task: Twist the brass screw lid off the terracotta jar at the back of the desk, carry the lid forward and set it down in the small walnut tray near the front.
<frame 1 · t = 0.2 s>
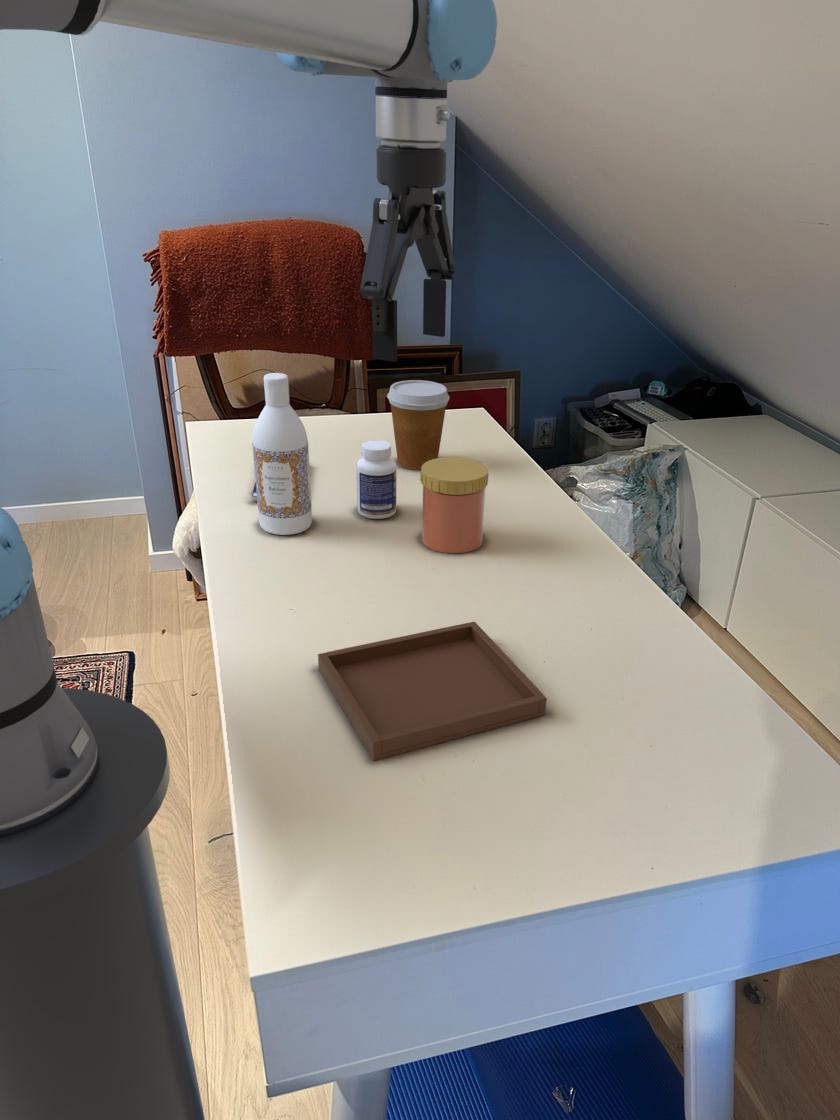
hand: (410, 347, 107), 24 cm above the table, tool pointing down, fingers open, 13 cm apart
tray: (429, 692, 88), on the table
lid: (454, 471, 113), point 10 cm above the table, screwed on, not yet turned
disposable coffee cup: (417, 464, 142), on the table
pill bottle: (377, 513, 125), on the table
jar: (452, 540, 118), on the table
smartphone: (280, 483, 132), on the table
bath foam: (286, 526, 120), on the table
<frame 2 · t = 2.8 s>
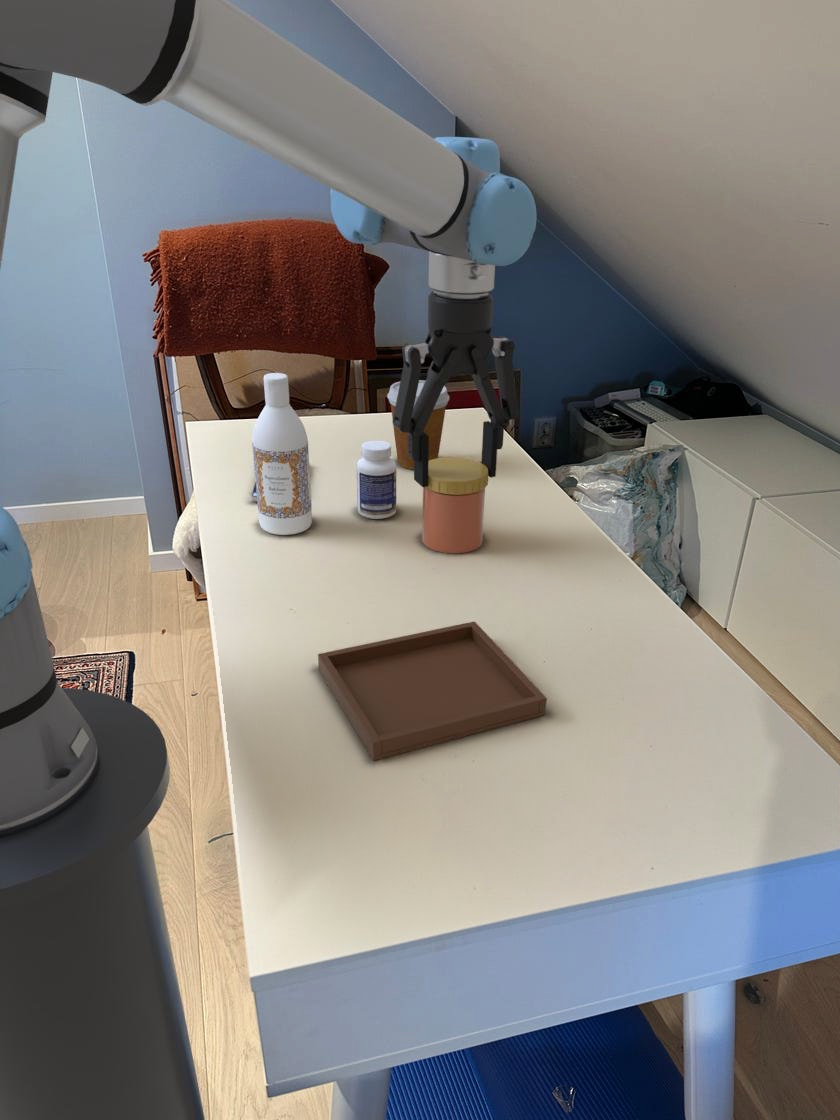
hand: (455, 478, 114), 9 cm above the table, tool pointing down
lid: (454, 471, 113), point 10 cm above the table, screwed on, not yet turned, touching gripper
everything else where it was.
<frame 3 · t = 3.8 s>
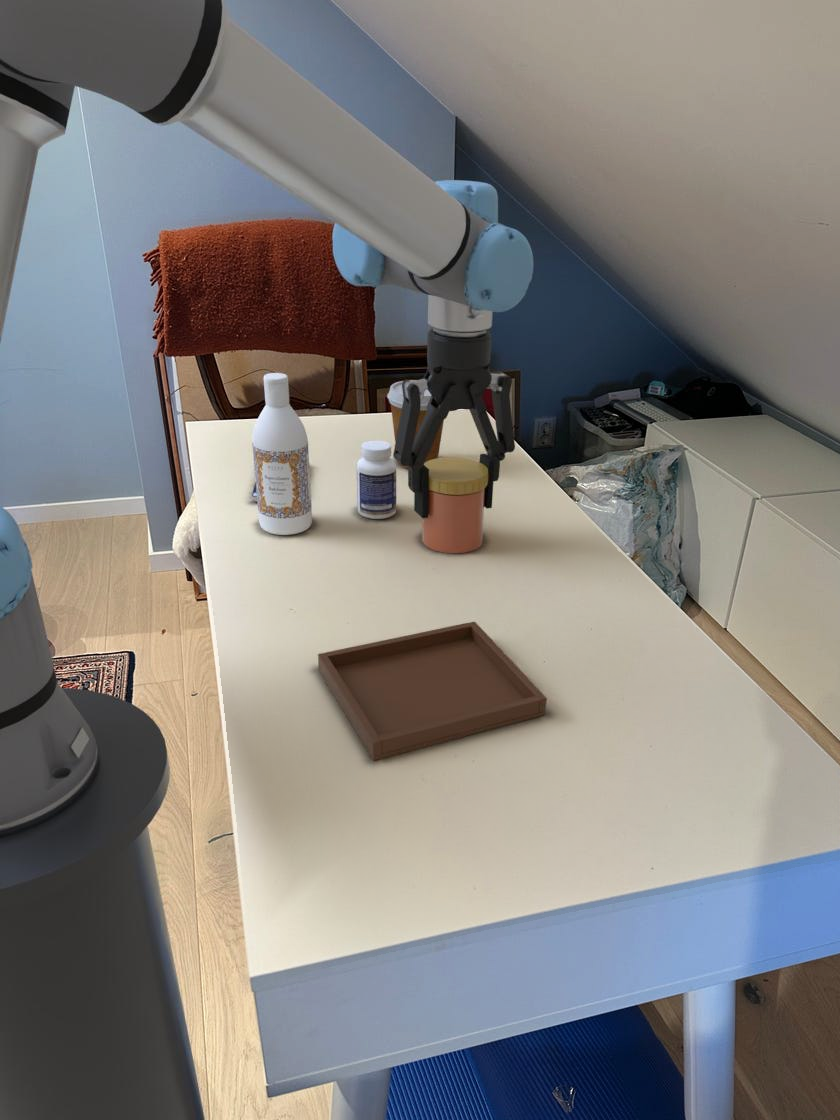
hand: (453, 509, 116), 4 cm above the table, tool pointing down, fingers closed on lid, 8 cm apart
lid: (454, 471, 113), point 10 cm above the table, screwed on, not yet turned, touching gripper
everything else where it was.
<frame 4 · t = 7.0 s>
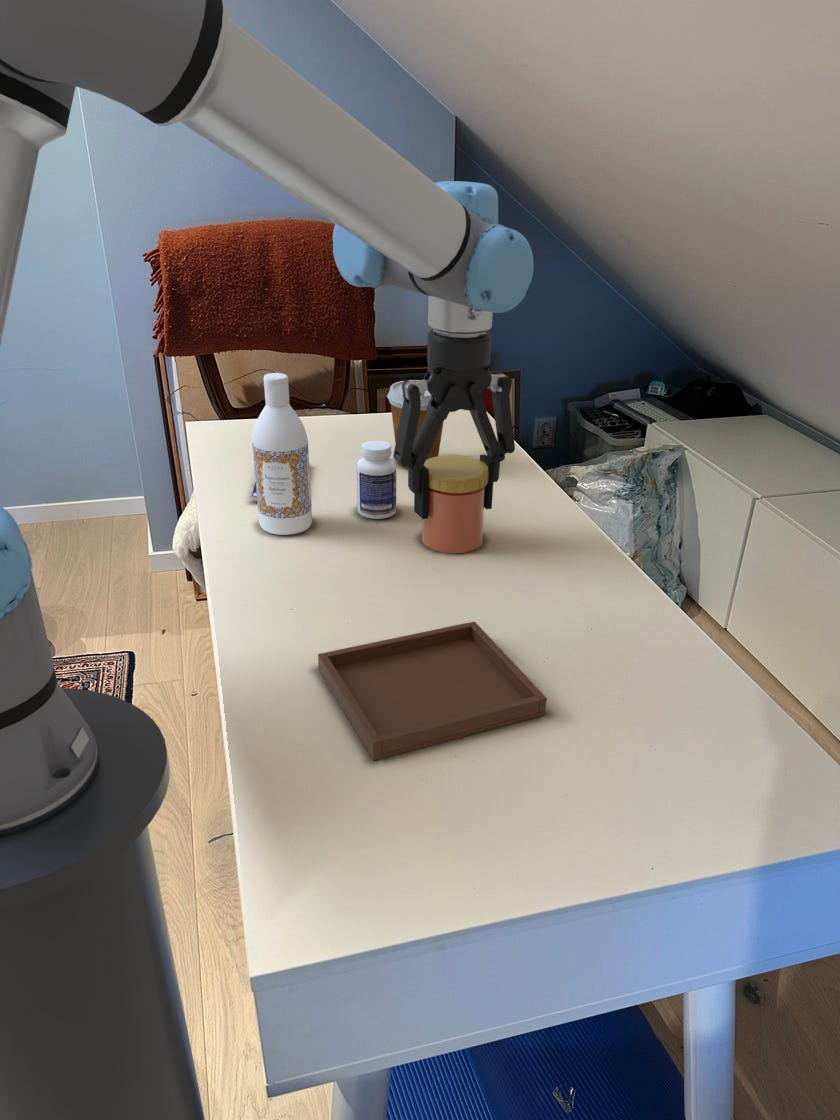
hand: (453, 509, 116), 4 cm above the table, tool pointing down, fingers closed on lid, 8 cm apart
lid: (454, 469, 113), point 10 cm above the table, turned 90° so far, risen 0.2 cm, still on its thread, touching gripper
everything else where it was.
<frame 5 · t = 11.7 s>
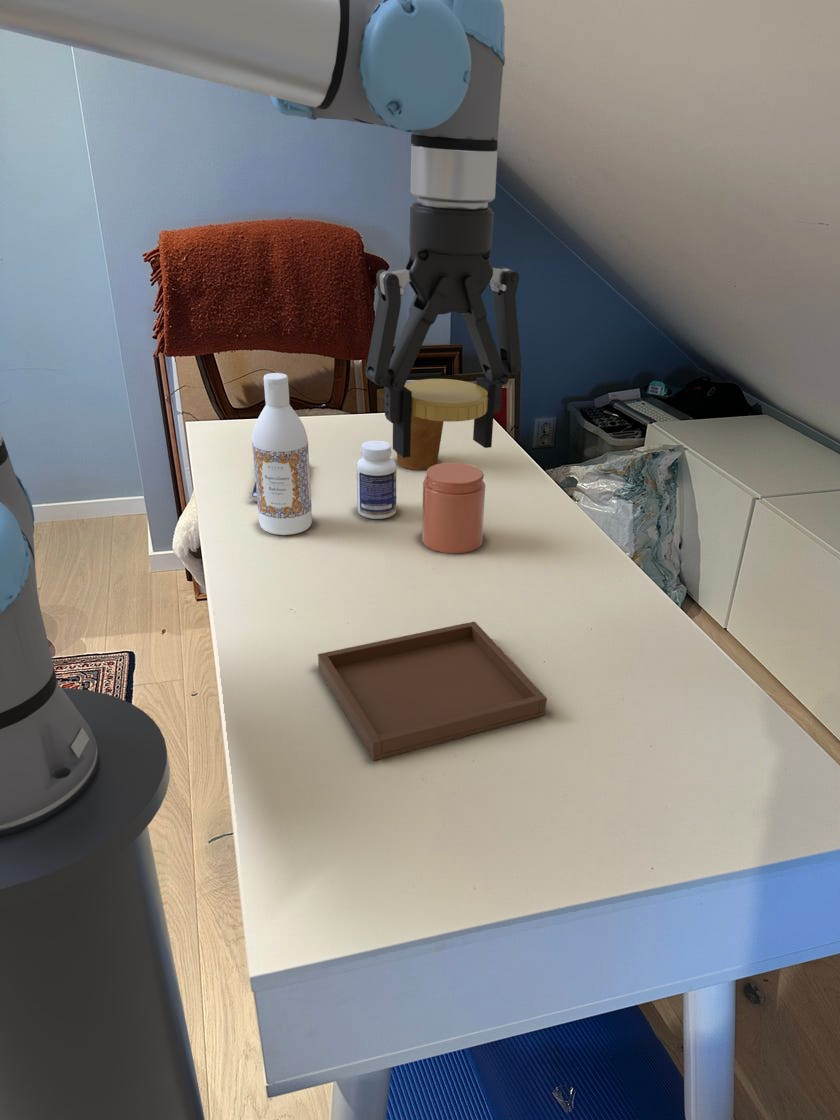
hand: (442, 447, 91), 20 cm above the table, tool pointing down, fingers closed on lid, 8 cm apart
lid: (444, 394, 88), point 25 cm above the table, off its thread, touching gripper
everything else where it was.
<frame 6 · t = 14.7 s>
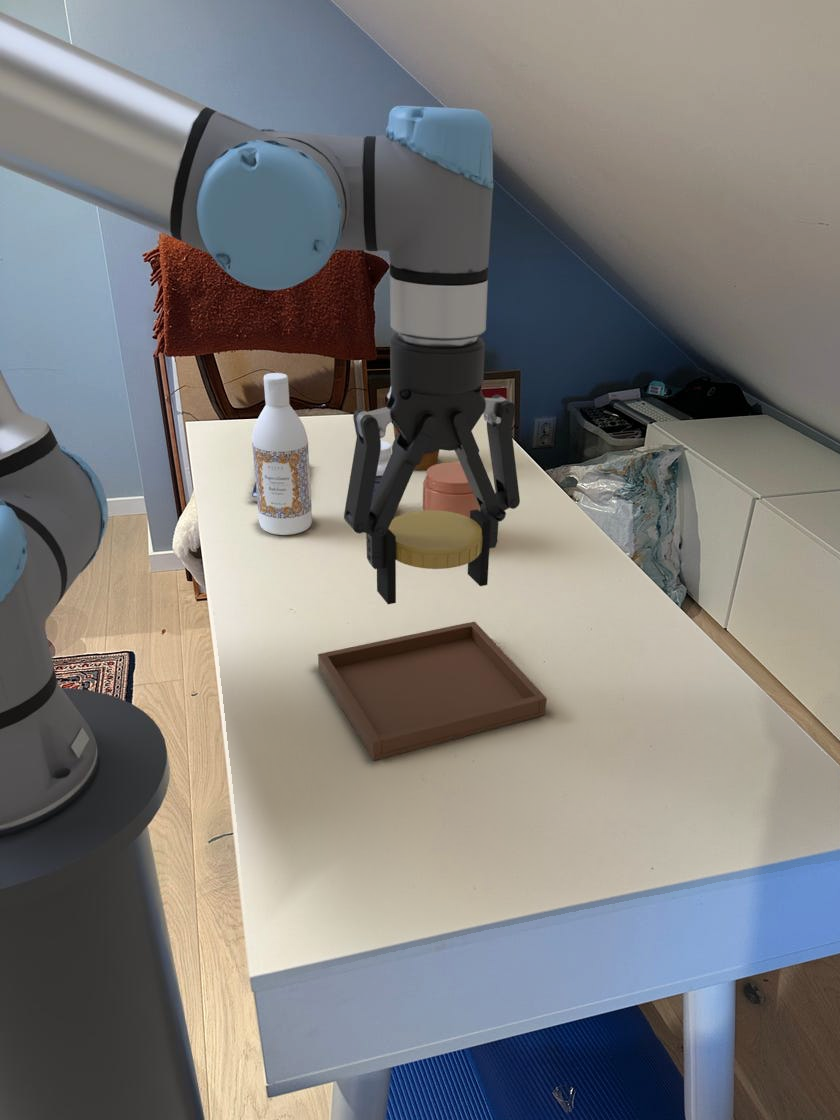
hand: (432, 587, 82), 12 cm above the table, tool pointing down, fingers closed on lid, 8 cm apart
lid: (434, 533, 79), point 17 cm above the table, off its thread, touching gripper
everything else where it was.
when the fingers open (3 cm above the table, at t = 16.9 s): lid drops 6 cm, resting on tray.
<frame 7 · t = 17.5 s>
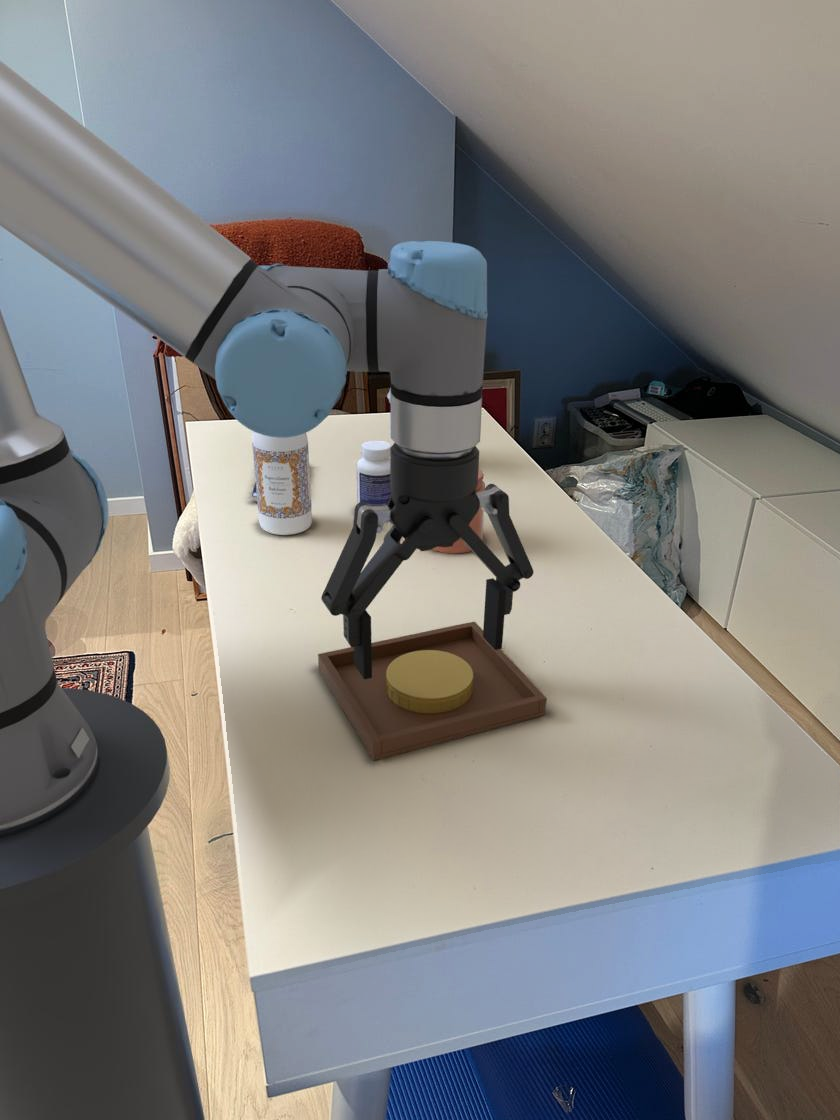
hand: (429, 656, 86), 4 cm above the table, tool pointing down, fingers open, 13 cm apart
lid: (429, 676, 87), point 2 cm above the table, off its thread, touching tray
everything else where it was.
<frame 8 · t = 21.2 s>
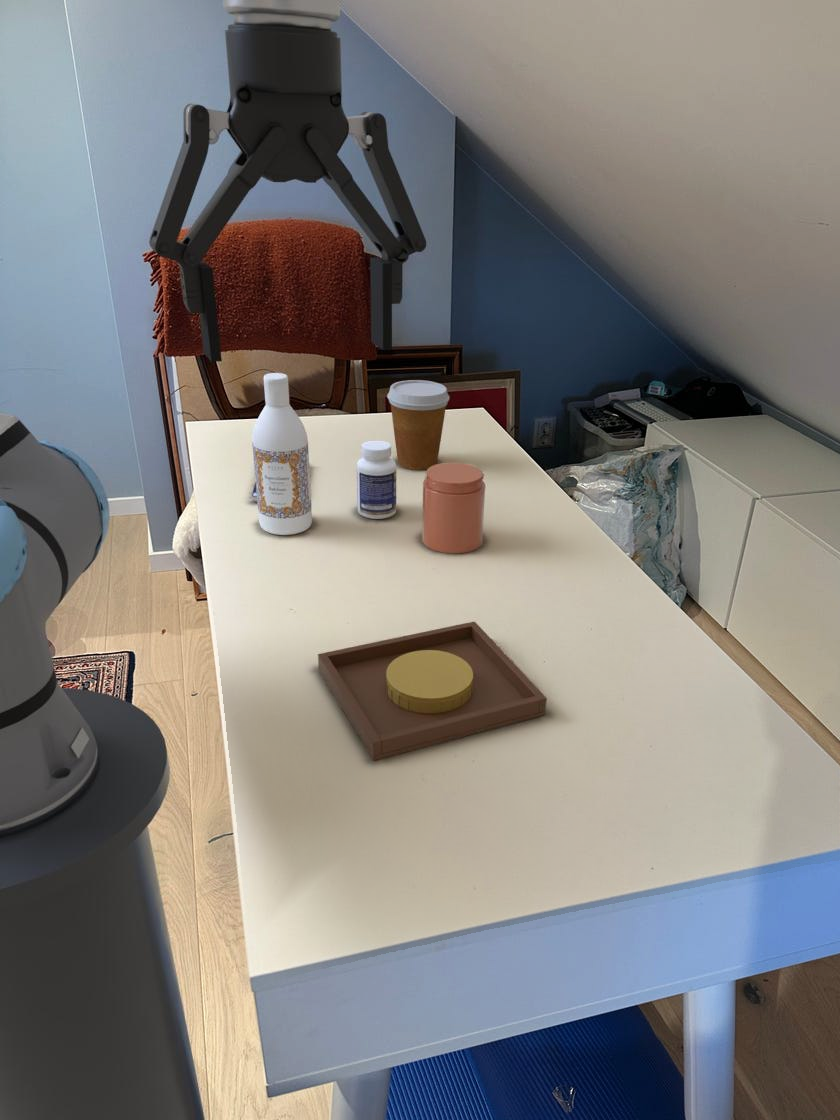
hand: (300, 351, 70), 33 cm above the table, tool pointing down, fingers open, 13 cm apart
nothing on the table moved.
at the end: lid came off its thread; lid inside the target area on the tray (0.0 cm from its centre), point 1.9 cm above the tray's base; the gripper is holding nothing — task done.
